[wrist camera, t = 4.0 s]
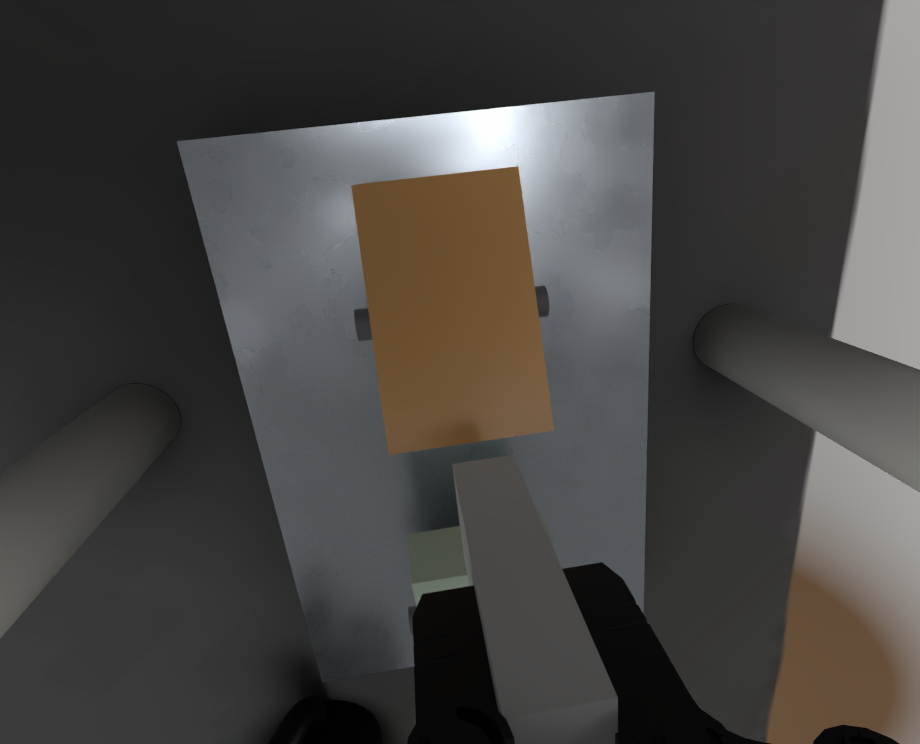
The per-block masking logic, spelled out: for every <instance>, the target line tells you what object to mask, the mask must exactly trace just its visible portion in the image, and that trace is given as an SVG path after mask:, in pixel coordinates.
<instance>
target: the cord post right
mask: <svg viewBox="0 0 920 744" xmlns="http://www.w3.org/2000/svg"><path fill="white" fill-rule="evenodd" d="M693 346H694V351H695V354H696V356H697V357H698V359H699V360H700V361H701V362H702V363H703V364H705V365H707V366H708V367H710V368H712V369H713V370H715V371H717V372H718V373H720V374H722V375H723V376H725V377H727V378H728V379H730V380H732V381H734V382H735V383H737V384H739V385H740V386H742V387H744V388H745V389H747V390H749V391H750V392H752V393H754V394H755V395H757V396H759V397H760V398H762V399H764V400H765V401H767V402H769V403H771V404H772V405H774V406H776V407H777V408H779V409H781V410H782V411H784V412H786V413H787V414H789V415H791V416H792V417H794V418H796V419H797V420H799V421H801V422H802V423H804V424H806V425H808V426H809V427H811V428H813V429H814V430H816V431H818V432H819V433H821V434H823V435H825V436H826V437H828V438H829V439H831V440H833V441H834V442H836V443H838V444H839V445H841V446H843V447H845V448H846V449H848V450H850V451H851V452H853V453H855V454H857V455H858V456H860V457H861V458H863V459H865V460H866V461H868V462H870V463H872V464H873V465H875V466H877V467H878V468H880V469H882V470H883V471H885V472H887V473H888V474H890V475H892V476H894V477H895V478H897V479H898V480H900V481H902V482H903V483H905V484H907V485H909V486H910V487H912V488H914V489H915V490H917V491H919V492H920V370H919V369H916V368H913V367H910V366H907V365H905V364H902V363H899V362H897V361H893V360H891V359H888V358H885V357H883V356H880V355H877V354H874V353H872V352H869V351H866V350H863V349H860V348H857V347H855V346H852V345H849V344H847V343H843V342H841V341H838V340H835V339H833V338H830V337H827V336H824V335H822V334H819V333H816V332H813V331H811V330H808V329H805V328H802V327H799V326H797V325H794V324H791V323H788V322H786V321H783V320H780V319H777V318H774V317H772V316H769V315H766V314H763V313H761V312H758V311H755V310H752V309H750V308H747V307H744V306H741V305H737V304H726V305H722V306H719V307H717V308H715V309H713V310H712V311H710V312H709V313H708V314H707V315H706V316H705V317H704V318H703V319H702V320H701V321H700V323H699V324H698V326H697V328H696V331H695V334H694V340H693Z"/></svg>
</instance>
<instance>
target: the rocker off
mask: <svg viewBox="0 0 920 744" xmlns="http://www.w3.org/2000/svg"><path fill="white" fill-rule="evenodd" d="M351 188H352V195H353V202H354V210H355V217H356V224H357V231H358V239H359V246H360V253H361V260H362V267H363V275H364V282H365V289H366V296H367V303H368V308H362V309H355V310H354V320H355V328H356V333H357V337H358V340H359V341H366V340H373V347H374V354H375V361H376V368H377V376H378V383H379V390H380V397H381V404H382V412H383V419H384V426H385V433H386V440H387V448H388V455H392V454H399V453H405V452H412V451H419V450H426V449H433V448H439V447H446V446H453V445H460V444H466V443H473V442H480V441H487V440H494V439H500V438H507V437H514V436H521V435H527V434H534V433H541V432H548V431H554V424H553V417H552V409H551V402H550V395H549V387H548V380H547V373H546V365H545V358H544V351H543V343H542V336H541V329H540V321H539V318H540V317H547V316H548V314H549V297H548V292H547V289H546V287H545V286H544V285H542V286H535V285H534V277H533V270H532V263H531V255H530V248H529V241H528V233H527V226H526V219H525V211H524V204H523V197H522V189H521V182H520V175H519V167H518V166H516V167H507V168H498V169H489V170H480V171H471V172H462V173H453V174H444V175H435V176H426V177H417V178H409V179H400V180H391V181H382V182H373V183H364V184H355V185H351Z"/></svg>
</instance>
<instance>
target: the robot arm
mask: <svg viewBox="0 0 920 744" xmlns="http://www.w3.org/2000/svg"><path fill="white" fill-rule="evenodd" d="M452 467H453V475H454V483H455V491H456V499H457V507H458V515H459V523H460V530H461V538H462V546H463V554H464V560H465V566H466V571H467V577H468V582H469V586H467V587H461V588H455V589H449V590H443V591H437V592H431V593H425V594H422V596H421V598H420V601H419V603H418V605H417V607H416V610H415V612H414V614H413V616H412V620H413V643H414V646H413V648H414V676H415V704H416V725H415V727H414V728H413V730H412V732H411V734H410V735H409V737H408V743H407V744H770V743H763V742H759V741H754V740H750V739H746V738H743V737H741V736H739V735H737V734H734V733H732V732H730V731H728V730H726V729H725V727H724V726H723V725H722V724H721V723H720V722H718V721H717V720H716V719H714V718H713V717H711V716H710V715H708V714H707V713H705V712H704V711H702V710H701V709H700V708H699V707H698V705H697V704H696V703H695V701H694V700H693V698H692V697H691V696H690V694H689V692H688V690H687V689H686V687H685V685H684V683H683V682H682V680H681V678H680V677H679V675H678V673H677V671H676V670H675V668H674V666H673V664H672V663H671V661H670V659H669V658H668V656H667V654H666V652H665V651H664V649H663V647H662V645H661V644H660V642H659V640H658V638H657V637H656V635H655V633H654V632H653V630H652V628H651V626H650V625H649V624H647V621H646V618H645V616H644V614H643V613H642V611H641V609H640V607H639V606H638V605H637V604H636V600H635V599H634V597H633V595H632V593H631V592H630V590H629V588H628V587H627V585H626V583H625V581H624V580H623V578H621V577H620V576H619V575H618V574H616V573H615V572H614V571H613V570H611V569H610V568H609V567H608V566H606V565H605V564H604V563H603V562H600V563H594V564H588V565H582V566H576V567H570V568H564V569H562V568H561V565H560V563H559V561H558V558H557V556H556V554H555V551H554V549H553V547H552V544H551V542H550V540H549V538H548V535H547V533H546V531H545V528H544V526H543V524H542V521H541V519H540V517H539V514H538V512H537V510H536V508H535V505H534V503H533V501H532V498H531V496H530V494H529V491H528V489H527V487H526V484H525V482H524V480H523V477H522V475H521V473H520V471H519V468H518V466H517V464H516V461H515V459H514V457H513V455H508V456H501V457H495V458H488V459H481V460H475V461H468V462H461V463H455V464H452ZM813 744H899V743H897V742H896V741H894V740H893V739H891V738H889V737H887V736H884V735H882V734H879V733H877V732H874V731H872V730H869V729H867V728H862V727H854V726H847V725H840V726H836V727H832V728H828V729H824V731H823V732H822V733H821V734H820V735H819V736H818V737H817V738H816V739H815V740H814V742H813Z"/></svg>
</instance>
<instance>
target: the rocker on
mask: <svg viewBox="0 0 920 744" xmlns="http://www.w3.org/2000/svg"><path fill="white" fill-rule="evenodd" d="M539 517H540V519H541V521H542V524H543V526H544V528H545V531H546V533H547V535H548V538H549V540H550V542H551V544H552V547H553V549H554V551H555V554H556V556H557V553H556V550H555V547H554V544H553V541H552V538H551V535H550V532H549V529H548V526H547V523H546V520H545V517H544V514H543V513H539ZM408 540H409V555H410V569H411V584H412V588H413V593H414V598H415V602H416V606H412V607H408V617H409V627H410V633H411V635H413V620H412V616H413V614H414V612H415V610H416V607H417V605H418V603H419V601H420V598H421V596H422V594H425V593H431V592H437V591H443V590H449V589H455V588H461V587H467V586H469V582H468V577H467V571H466V566H465V560H464V554H463V546H462V538H461V530H460V526H457V527H450V528H444V529H438V530H431V531H425V532H419V533H412V534H408ZM557 558H558V556H557ZM558 561H559V559H558Z"/></svg>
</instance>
